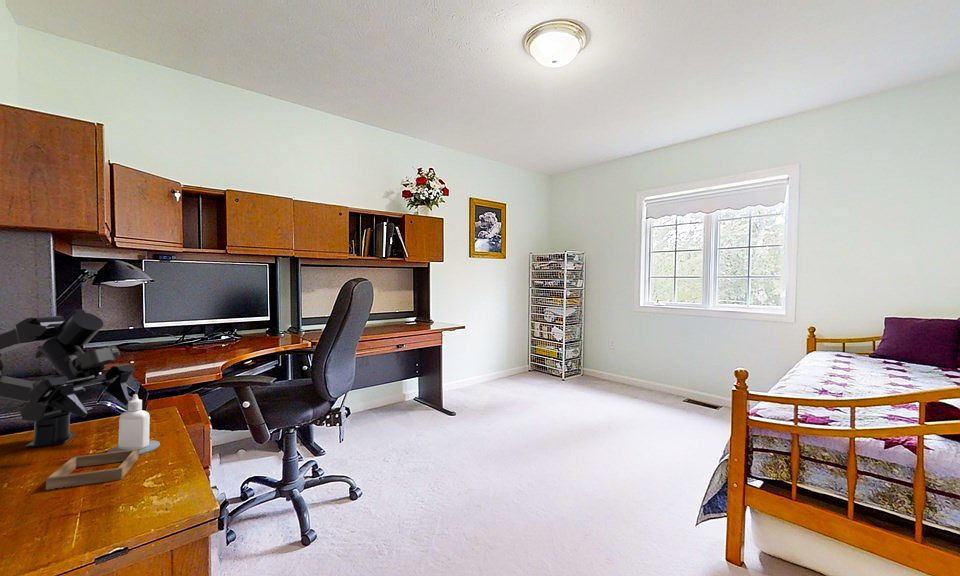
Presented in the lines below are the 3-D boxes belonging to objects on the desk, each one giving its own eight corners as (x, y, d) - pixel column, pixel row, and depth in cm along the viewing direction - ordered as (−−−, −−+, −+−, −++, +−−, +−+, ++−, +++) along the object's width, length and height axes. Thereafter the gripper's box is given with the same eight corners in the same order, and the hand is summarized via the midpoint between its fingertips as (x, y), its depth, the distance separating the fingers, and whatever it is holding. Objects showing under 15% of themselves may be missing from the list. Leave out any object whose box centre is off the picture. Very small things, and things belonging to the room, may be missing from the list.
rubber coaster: (116, 445, 93) (116, 443, 93) (164, 439, 97) (164, 438, 97) (100, 460, 85) (100, 458, 85) (153, 453, 89) (153, 451, 89)
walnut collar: (73, 466, 82) (73, 456, 82) (138, 458, 87) (139, 448, 87) (45, 490, 73) (46, 479, 73) (121, 479, 77) (121, 468, 77)
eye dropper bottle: (127, 453, 88) (128, 398, 88) (116, 448, 91) (117, 395, 91) (151, 447, 92) (152, 394, 92) (139, 442, 95) (141, 391, 95)
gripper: (41, 340, 84) (84, 397, 83) (130, 331, 103) (167, 377, 101) (8, 376, 85) (51, 432, 84) (102, 361, 104) (138, 406, 102)
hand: (107, 409), depth 93 cm, fingers open, 9 cm apart
